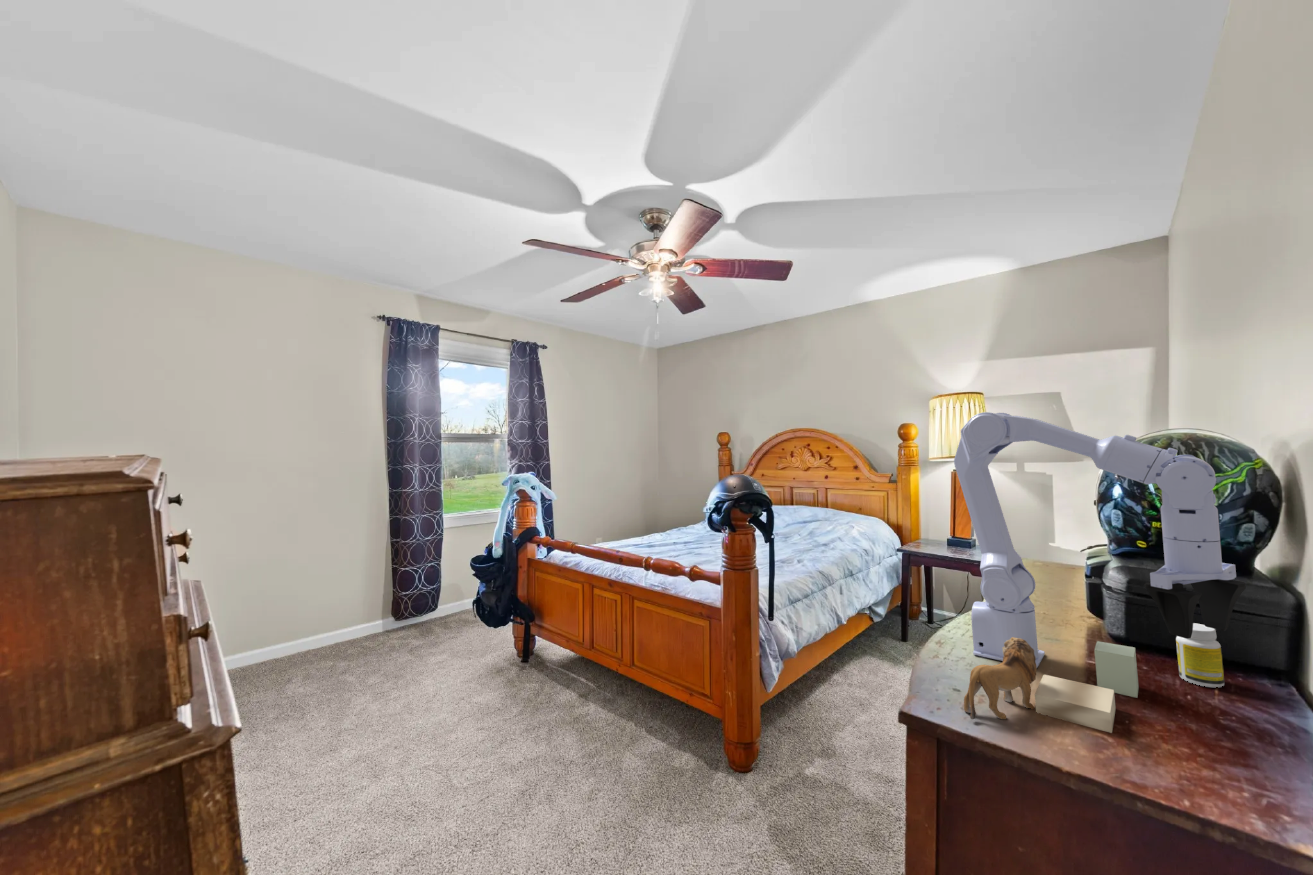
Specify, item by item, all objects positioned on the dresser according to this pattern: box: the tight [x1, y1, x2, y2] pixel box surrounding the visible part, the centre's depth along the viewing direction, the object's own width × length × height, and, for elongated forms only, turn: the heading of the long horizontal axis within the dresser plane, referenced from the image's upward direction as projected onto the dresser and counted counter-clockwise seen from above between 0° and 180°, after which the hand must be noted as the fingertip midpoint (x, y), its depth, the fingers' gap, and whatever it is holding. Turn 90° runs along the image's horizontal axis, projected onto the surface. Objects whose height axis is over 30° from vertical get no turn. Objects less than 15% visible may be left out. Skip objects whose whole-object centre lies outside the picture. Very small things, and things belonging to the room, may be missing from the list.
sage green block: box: [1093, 640, 1140, 699], centre depth 76 cm, size 4×4×6 cm
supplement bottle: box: [1175, 622, 1225, 689], centre depth 77 cm, size 5×5×8 cm
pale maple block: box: [1034, 674, 1117, 734], centre depth 70 cm, size 8×8×3 cm
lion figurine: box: [963, 637, 1037, 720], centre depth 72 cm, size 15×5×9 cm, turn 118°
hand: (1198, 632), depth 72 cm, fingers open, 7 cm apart
